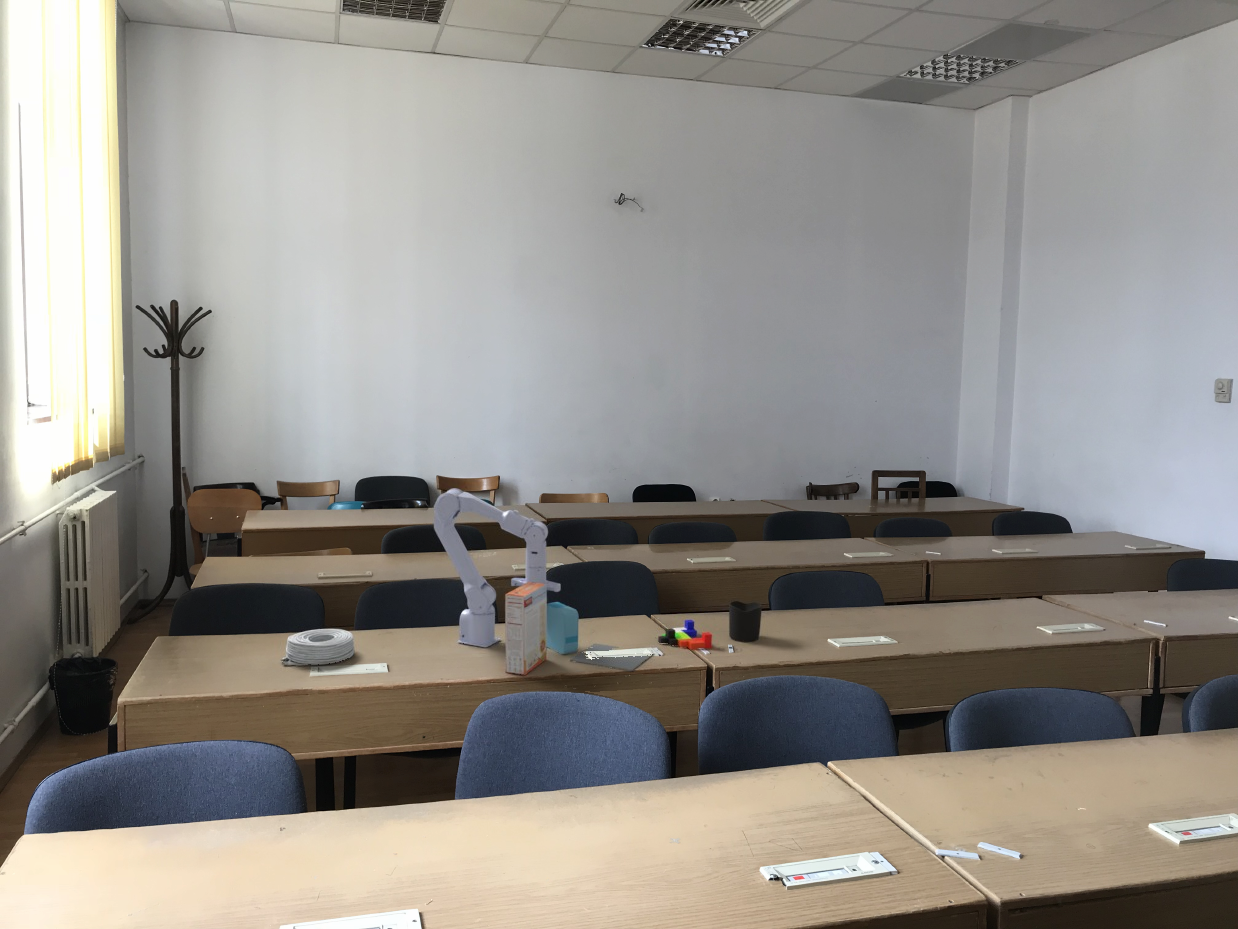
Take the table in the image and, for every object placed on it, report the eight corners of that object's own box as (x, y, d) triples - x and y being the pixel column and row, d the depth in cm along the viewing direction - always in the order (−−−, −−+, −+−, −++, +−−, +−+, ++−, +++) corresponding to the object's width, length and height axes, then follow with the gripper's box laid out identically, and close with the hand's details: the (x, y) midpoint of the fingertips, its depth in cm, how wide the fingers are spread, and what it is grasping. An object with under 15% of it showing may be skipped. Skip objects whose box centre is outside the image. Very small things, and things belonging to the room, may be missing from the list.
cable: (276, 667, 242) (275, 644, 242) (297, 646, 260) (297, 624, 259) (345, 668, 243) (344, 645, 242) (361, 647, 260) (361, 625, 259)
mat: (569, 660, 252) (569, 659, 252) (594, 644, 266) (594, 643, 266) (631, 671, 245) (631, 670, 245) (654, 653, 259) (654, 652, 259)
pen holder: (744, 644, 269) (746, 610, 268) (721, 636, 277) (722, 603, 276) (767, 639, 275) (768, 605, 274) (743, 631, 283) (745, 598, 281)
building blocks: (650, 637, 276) (650, 622, 275) (691, 633, 280) (691, 619, 279) (668, 652, 262) (669, 637, 261) (711, 649, 266) (712, 634, 265)
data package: (578, 653, 258) (579, 610, 257) (564, 656, 256) (565, 613, 254) (555, 641, 268) (555, 600, 267) (541, 644, 265) (541, 602, 264)
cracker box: (526, 656, 254) (527, 580, 252) (547, 659, 252) (548, 583, 250) (503, 673, 241) (504, 593, 239) (524, 676, 239) (525, 595, 237)
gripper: (565, 565, 263) (565, 613, 265) (520, 560, 269) (519, 606, 270) (554, 571, 257) (553, 619, 258) (507, 565, 262) (507, 612, 264)
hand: (535, 613), depth 264 cm, fingers closed
